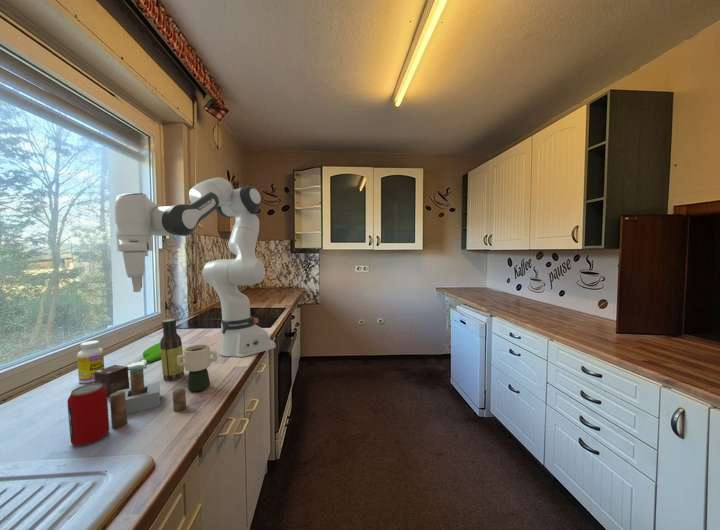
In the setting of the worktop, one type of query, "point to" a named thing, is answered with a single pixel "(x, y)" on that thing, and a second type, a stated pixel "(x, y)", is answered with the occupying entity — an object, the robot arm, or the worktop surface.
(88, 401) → the beverage can
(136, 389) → the long pin
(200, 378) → the character mug
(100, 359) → the supplement bottle
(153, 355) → the spray bottle
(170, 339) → the sauce bottle
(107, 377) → the box
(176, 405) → the short pin
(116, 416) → the medium pin
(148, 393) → the socket block
